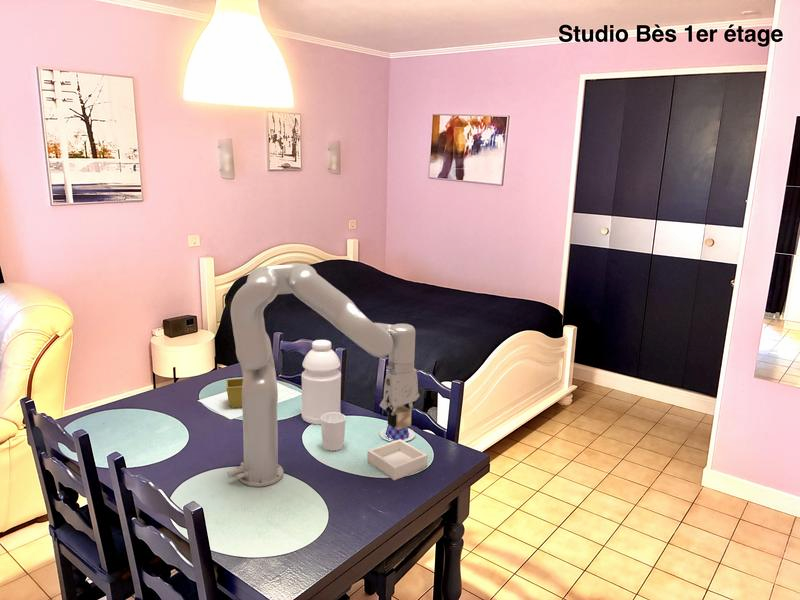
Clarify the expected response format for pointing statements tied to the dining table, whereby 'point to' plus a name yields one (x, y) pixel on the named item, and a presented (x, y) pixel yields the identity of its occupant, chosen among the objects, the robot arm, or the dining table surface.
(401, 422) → the beech cube
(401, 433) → the pudding
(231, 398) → the flower pot
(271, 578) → the dining table surface
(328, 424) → the white cup
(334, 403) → the white bottle
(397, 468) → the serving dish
